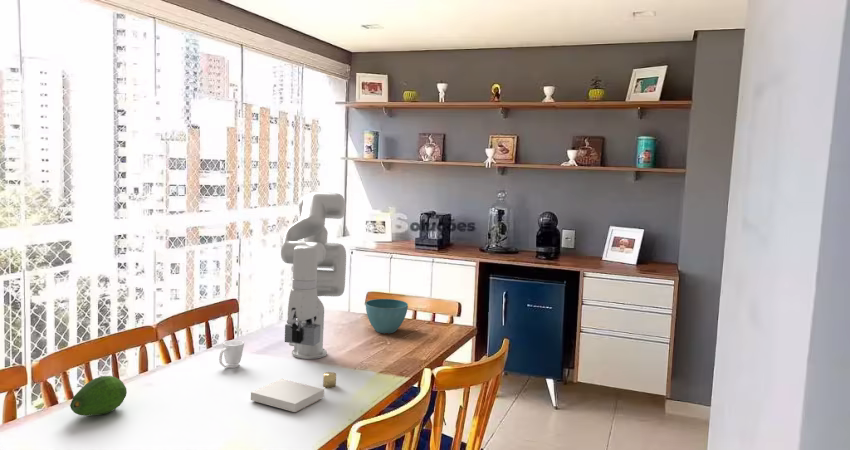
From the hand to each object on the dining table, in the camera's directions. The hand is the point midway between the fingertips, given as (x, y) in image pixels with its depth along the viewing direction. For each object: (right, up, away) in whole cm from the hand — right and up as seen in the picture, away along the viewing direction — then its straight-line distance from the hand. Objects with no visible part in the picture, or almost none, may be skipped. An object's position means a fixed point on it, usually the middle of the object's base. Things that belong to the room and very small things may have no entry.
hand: (302, 339), depth 198 cm
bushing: (+9, -15, 0) cm, 17 cm away
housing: (0, -1, 0) cm, 1 cm away
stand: (-2, -16, -14) cm, 21 cm away
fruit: (-49, -15, -31) cm, 60 cm away
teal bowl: (+22, -10, +70) cm, 74 cm away
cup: (-27, -12, +13) cm, 32 cm away
